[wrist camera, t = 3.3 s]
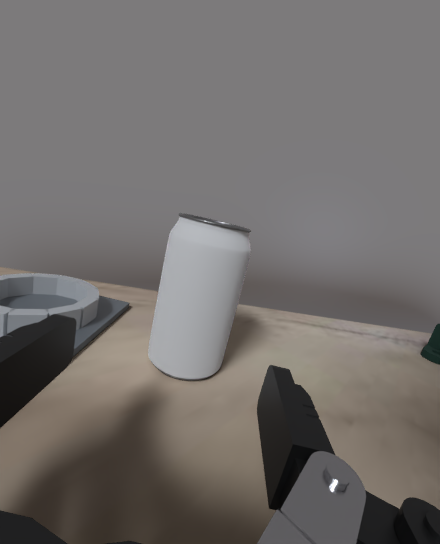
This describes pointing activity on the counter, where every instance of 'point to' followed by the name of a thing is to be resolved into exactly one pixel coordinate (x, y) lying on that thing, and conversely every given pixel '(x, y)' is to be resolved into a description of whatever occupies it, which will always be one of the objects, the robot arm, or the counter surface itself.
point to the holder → (56, 304)
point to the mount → (433, 347)
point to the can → (198, 296)
